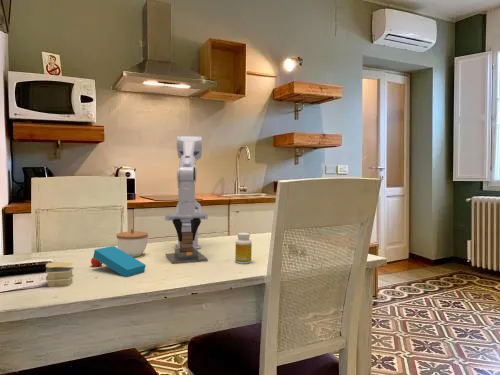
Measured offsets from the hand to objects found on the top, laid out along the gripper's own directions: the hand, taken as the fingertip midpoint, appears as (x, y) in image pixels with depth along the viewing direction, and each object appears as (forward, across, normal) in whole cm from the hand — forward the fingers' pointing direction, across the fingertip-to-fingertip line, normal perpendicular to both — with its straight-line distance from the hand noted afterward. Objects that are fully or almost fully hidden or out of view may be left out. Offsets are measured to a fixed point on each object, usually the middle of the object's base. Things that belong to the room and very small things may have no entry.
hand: (186, 240), depth 139 cm
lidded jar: (+6, -17, +11) cm, 21 cm away
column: (+4, 0, 0) cm, 4 cm away
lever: (+7, -24, -8) cm, 26 cm away
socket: (+6, 0, 0) cm, 6 cm away
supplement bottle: (+6, +17, -11) cm, 21 cm away
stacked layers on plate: (+7, -39, -18) cm, 43 cm away
